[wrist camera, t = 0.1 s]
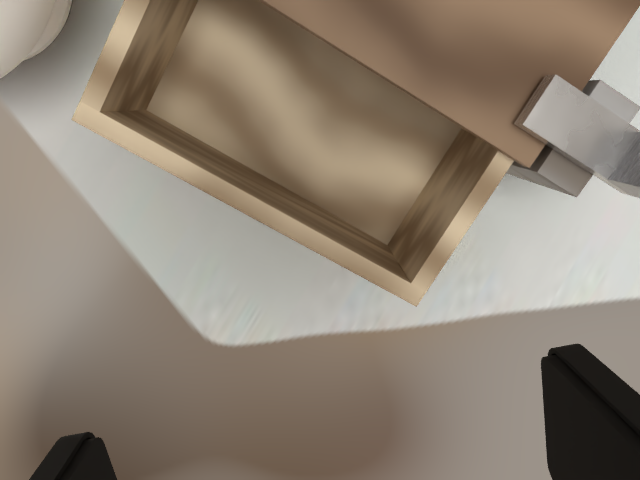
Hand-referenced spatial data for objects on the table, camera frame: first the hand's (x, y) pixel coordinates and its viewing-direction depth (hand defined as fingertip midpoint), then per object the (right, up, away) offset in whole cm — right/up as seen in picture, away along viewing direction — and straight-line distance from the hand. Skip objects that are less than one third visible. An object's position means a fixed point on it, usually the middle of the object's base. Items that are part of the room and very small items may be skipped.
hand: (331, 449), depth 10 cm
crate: (+2, +16, +28) cm, 32 cm away
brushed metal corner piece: (+15, +10, +18) cm, 26 cm away
